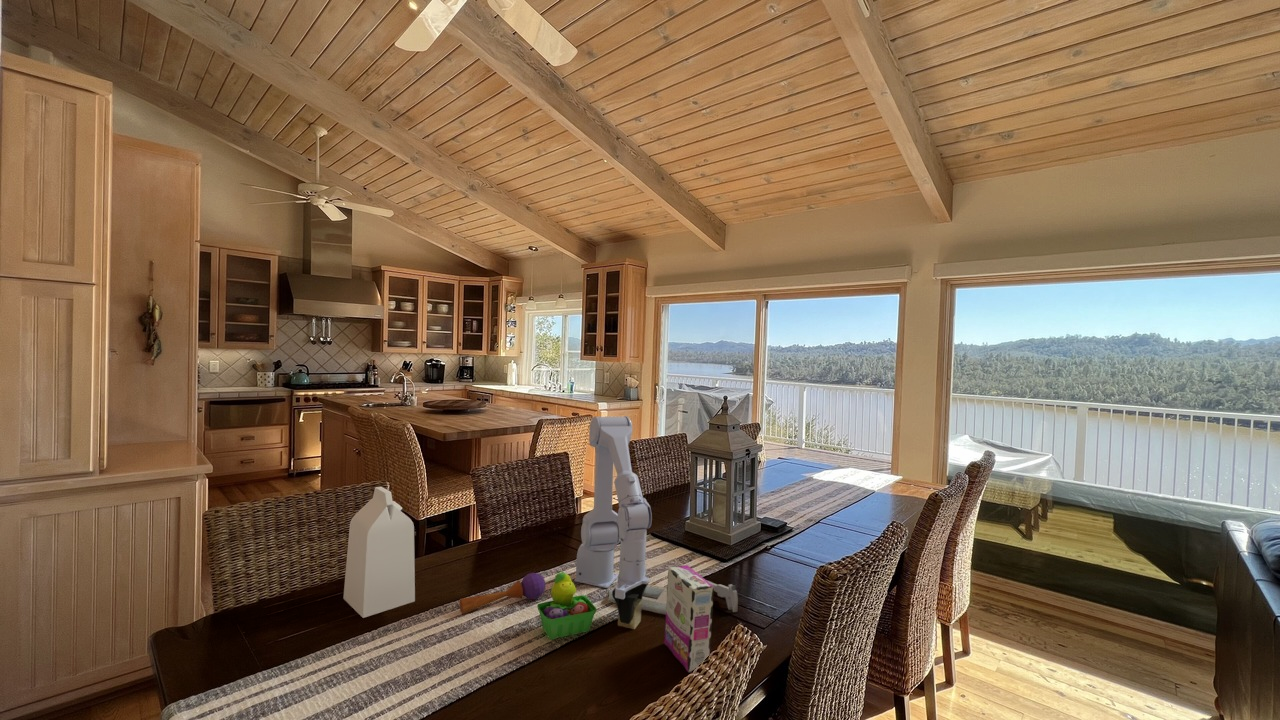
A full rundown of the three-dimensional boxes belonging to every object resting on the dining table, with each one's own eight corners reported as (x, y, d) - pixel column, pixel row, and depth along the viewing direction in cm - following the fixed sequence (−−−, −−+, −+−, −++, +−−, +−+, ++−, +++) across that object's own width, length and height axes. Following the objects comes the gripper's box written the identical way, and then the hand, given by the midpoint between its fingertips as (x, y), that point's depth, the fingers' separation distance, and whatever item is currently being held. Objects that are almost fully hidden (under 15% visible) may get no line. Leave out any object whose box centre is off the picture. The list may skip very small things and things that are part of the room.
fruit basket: (545, 644, 110) (548, 590, 110) (533, 623, 118) (535, 573, 118) (597, 633, 116) (599, 581, 115) (582, 614, 123) (584, 565, 123)
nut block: (617, 625, 119) (618, 603, 119) (624, 617, 123) (625, 595, 123) (634, 629, 118) (635, 607, 118) (640, 621, 122) (641, 599, 121)
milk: (343, 598, 125) (346, 488, 125) (393, 583, 134) (397, 480, 133) (362, 618, 117) (366, 500, 116) (414, 601, 126) (418, 491, 125)
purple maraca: (457, 590, 124) (538, 567, 135) (459, 616, 124) (541, 592, 134) (463, 596, 119) (547, 572, 130) (465, 623, 119) (550, 597, 129)
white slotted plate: (608, 601, 130) (609, 590, 130) (621, 588, 137) (621, 577, 137) (680, 618, 124) (681, 606, 124) (689, 602, 131) (689, 591, 131)
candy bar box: (711, 669, 105) (715, 586, 104) (688, 674, 103) (692, 589, 102) (684, 639, 115) (687, 563, 114) (663, 643, 113) (666, 566, 112)
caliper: (737, 613, 128) (738, 587, 127) (733, 614, 127) (735, 588, 127) (691, 578, 146) (692, 555, 146) (688, 579, 145) (689, 556, 145)
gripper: (638, 572, 112) (635, 636, 112) (659, 548, 125) (656, 606, 126) (607, 566, 114) (604, 629, 115) (631, 543, 128) (628, 599, 128)
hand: (629, 616), depth 120 cm, fingers open, 5 cm apart
